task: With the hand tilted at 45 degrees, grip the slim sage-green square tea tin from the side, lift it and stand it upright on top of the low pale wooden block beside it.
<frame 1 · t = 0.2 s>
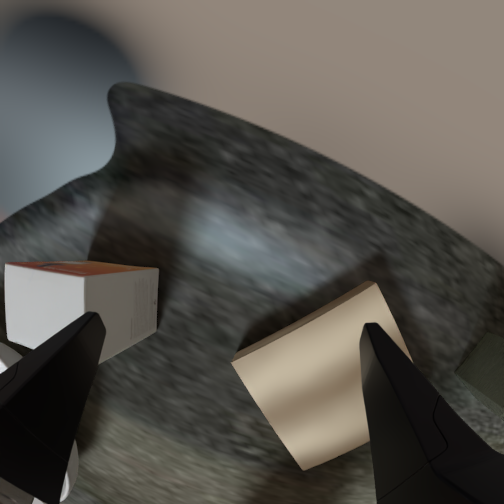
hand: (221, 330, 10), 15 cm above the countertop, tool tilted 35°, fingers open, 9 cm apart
wooden block: (334, 376, 24), on the countertop
serving bowl: (34, 408, 28), on the countertop
tea tin: (482, 366, 22), on the countertop
small box: (120, 294, 26), on the countertop
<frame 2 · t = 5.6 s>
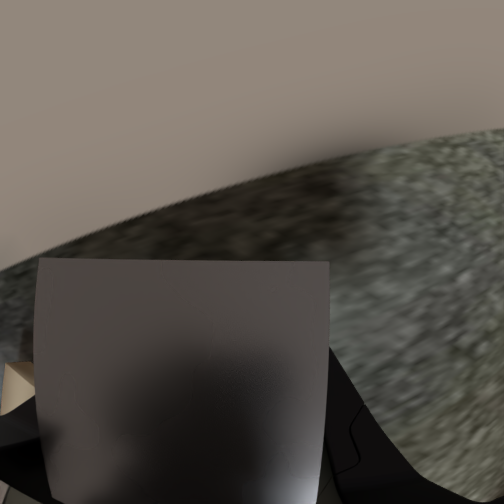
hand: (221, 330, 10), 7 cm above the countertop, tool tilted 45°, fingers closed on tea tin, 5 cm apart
wooden block: (81, 468, 15), on the countertop
tea tin: (245, 353, 16), on the countertop, touching gripper
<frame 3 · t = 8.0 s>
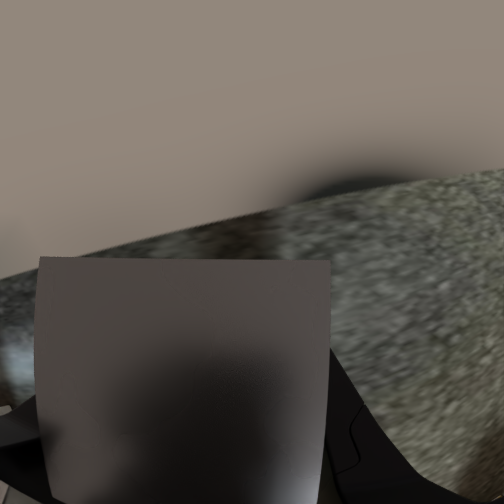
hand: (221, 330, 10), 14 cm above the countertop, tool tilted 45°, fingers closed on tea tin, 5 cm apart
tea tin: (246, 353, 16), point 7 cm above the countertop, touching gripper
when the fingers open (10 cm above the countertop, at t = 10.7 s): tea tin drops 1 cm, resting on wooden block.
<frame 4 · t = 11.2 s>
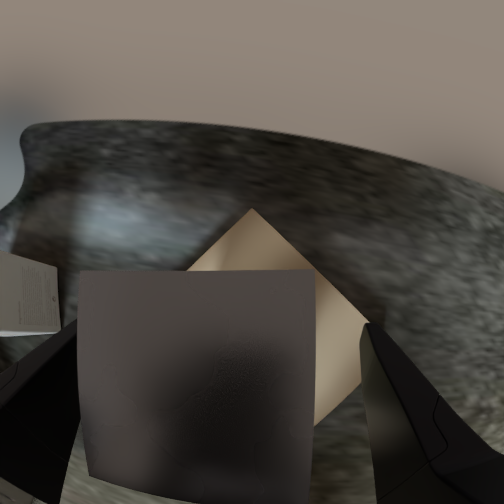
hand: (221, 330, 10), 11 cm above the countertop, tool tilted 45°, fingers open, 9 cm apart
wooden block: (254, 346, 20), on the countertop, touching tea tin
tea tin: (251, 350, 17), point 2 cm above the countertop, touching wooden block
small box: (31, 304, 22), on the countertop
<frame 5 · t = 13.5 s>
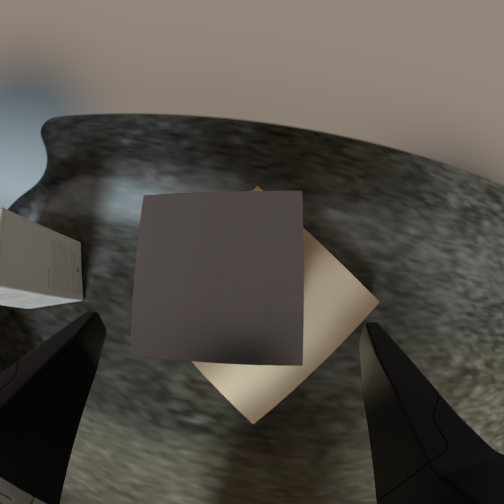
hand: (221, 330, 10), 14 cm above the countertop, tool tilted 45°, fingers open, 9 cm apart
wooden block: (259, 305, 24), on the countertop
tea tin: (252, 302, 21), point 2 cm above the countertop
small box: (54, 278, 26), on the countertop
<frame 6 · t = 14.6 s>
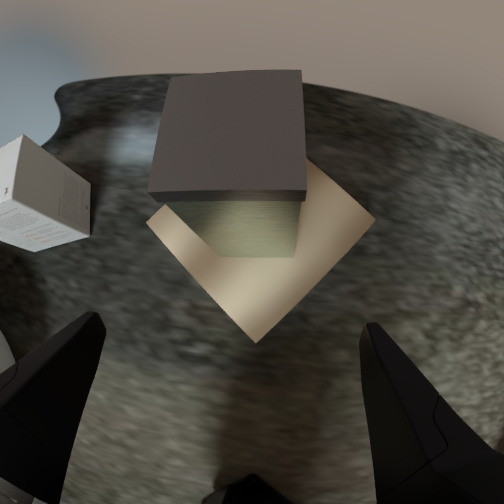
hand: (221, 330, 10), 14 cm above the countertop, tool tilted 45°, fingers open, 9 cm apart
wooden block: (261, 231, 25), on the countertop, touching tea tin
tea tin: (257, 222, 22), point 2 cm above the countertop, touching wooden block
small box: (62, 220, 27), on the countertop
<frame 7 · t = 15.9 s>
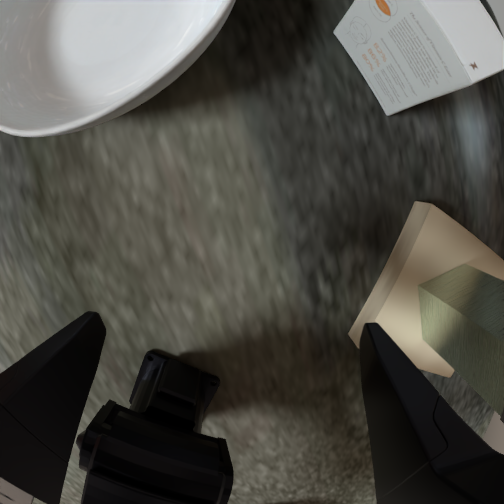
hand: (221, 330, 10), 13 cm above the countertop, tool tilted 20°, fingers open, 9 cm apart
wooden block: (429, 292, 24), on the countertop, touching tea tin
serving bowl: (112, 24, 18), on the countertop
tea tin: (444, 302, 21), point 2 cm above the countertop, touching wooden block
small box: (383, 63, 20), on the countertop
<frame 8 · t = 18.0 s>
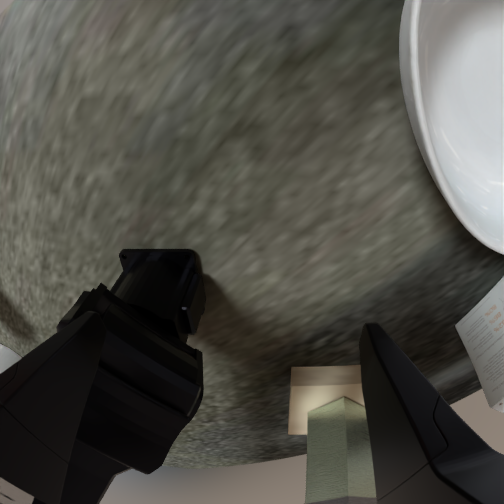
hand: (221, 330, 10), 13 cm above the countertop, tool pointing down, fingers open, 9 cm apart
wooden block: (340, 391, 33), on the countertop
serving bowl: (496, 83, 14), on the countertop
utensil holder: (19, 367, 41), on the countertop
tea tin: (338, 411, 31), point 3 cm above the countertop
small box: (490, 307, 25), on the countertop
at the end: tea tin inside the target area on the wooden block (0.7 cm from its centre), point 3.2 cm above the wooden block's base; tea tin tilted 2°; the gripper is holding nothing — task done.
